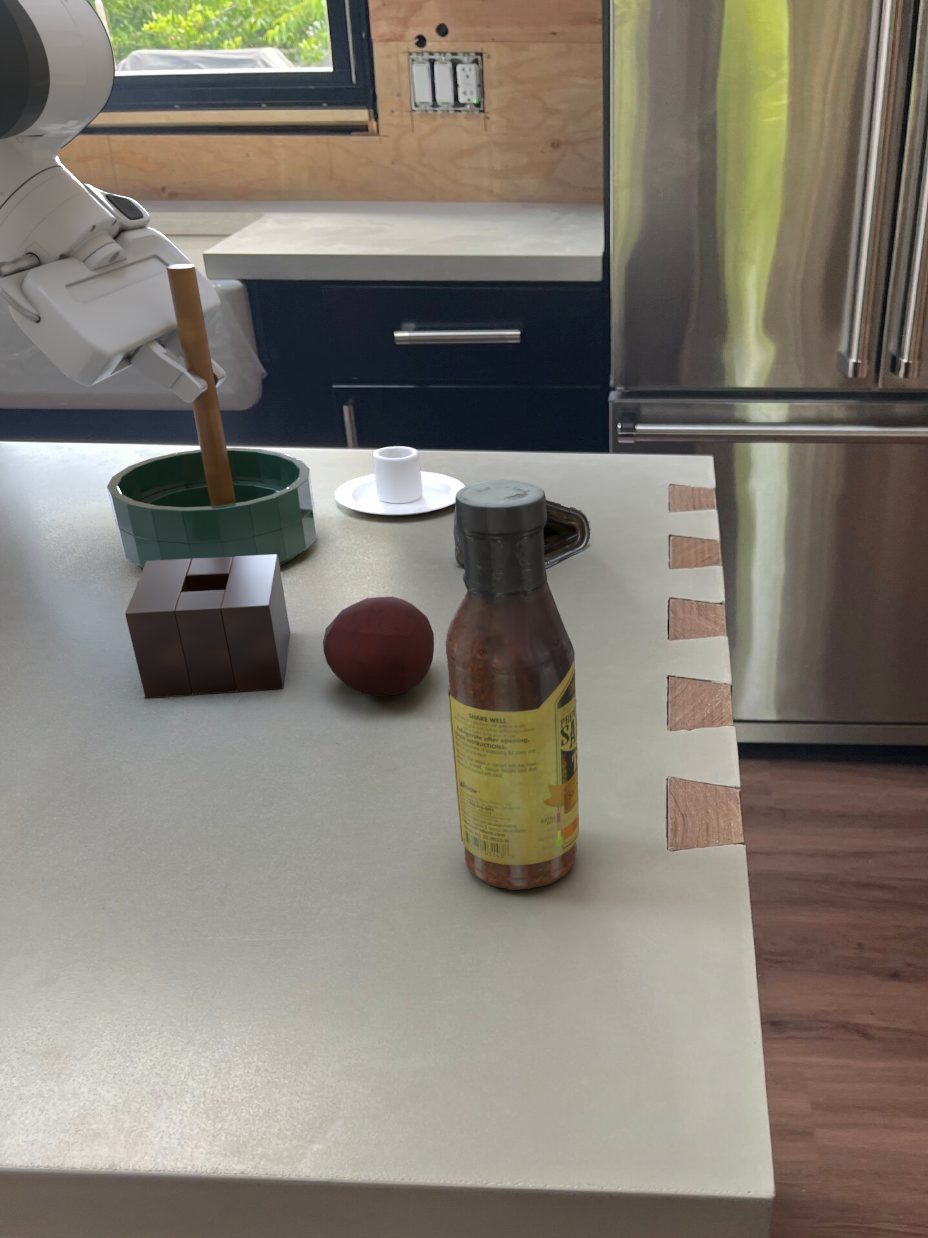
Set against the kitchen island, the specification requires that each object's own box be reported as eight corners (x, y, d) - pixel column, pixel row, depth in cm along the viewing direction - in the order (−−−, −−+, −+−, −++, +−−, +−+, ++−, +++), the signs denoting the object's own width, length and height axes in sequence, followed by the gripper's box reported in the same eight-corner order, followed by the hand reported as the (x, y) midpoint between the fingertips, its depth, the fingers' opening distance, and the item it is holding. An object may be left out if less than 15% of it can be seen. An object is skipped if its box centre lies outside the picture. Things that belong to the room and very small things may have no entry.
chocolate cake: (535, 528, 105) (444, 451, 96) (596, 522, 101) (507, 441, 91) (504, 625, 103) (408, 556, 94) (566, 624, 99) (471, 551, 89)
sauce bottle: (592, 885, 61) (592, 512, 50) (474, 905, 60) (446, 526, 49) (562, 817, 66) (555, 465, 55) (451, 834, 65) (421, 476, 54)
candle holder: (493, 498, 110) (491, 451, 108) (394, 532, 102) (389, 483, 100) (408, 470, 116) (404, 425, 114) (308, 500, 109) (302, 453, 106)
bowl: (109, 590, 92) (90, 514, 88) (140, 519, 104) (125, 451, 101) (315, 579, 94) (304, 505, 91) (321, 511, 107) (312, 444, 103)
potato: (301, 703, 77) (288, 618, 74) (368, 651, 83) (359, 571, 80) (400, 725, 75) (390, 638, 71) (461, 670, 81) (455, 588, 78)
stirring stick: (214, 534, 97) (164, 268, 86) (217, 526, 99) (168, 264, 87) (239, 533, 97) (192, 268, 86) (242, 525, 99) (196, 263, 88)
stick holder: (145, 698, 77) (124, 613, 74) (164, 640, 84) (146, 560, 81) (283, 689, 79) (269, 605, 75) (290, 632, 86) (277, 553, 82)
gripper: (-2, 234, 77) (170, 396, 81) (145, 196, 94) (281, 333, 98) (-45, 304, 80) (123, 457, 84) (105, 256, 97) (239, 386, 101)
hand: (209, 390), depth 91 cm, fingers closed on stirring stick, 2 cm apart
